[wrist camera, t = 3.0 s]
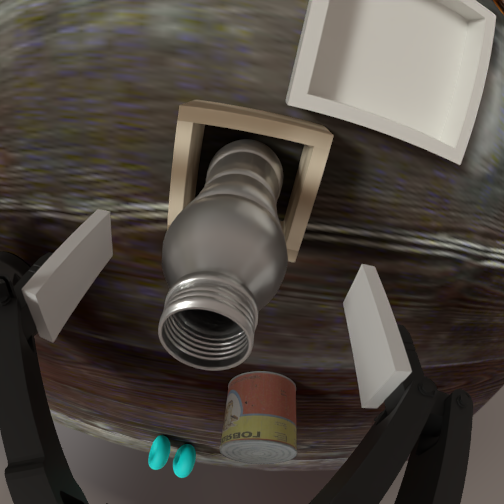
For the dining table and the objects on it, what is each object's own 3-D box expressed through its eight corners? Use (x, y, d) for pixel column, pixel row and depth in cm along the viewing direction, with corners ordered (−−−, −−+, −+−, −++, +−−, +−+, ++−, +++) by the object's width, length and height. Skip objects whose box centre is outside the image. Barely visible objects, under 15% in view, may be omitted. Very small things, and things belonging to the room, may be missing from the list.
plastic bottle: (292, 147, 26) (328, 299, 9) (268, 210, 30) (259, 401, 13) (223, 125, 25) (123, 240, 8) (205, 191, 29) (122, 363, 12)
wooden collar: (292, 234, 31) (294, 262, 27) (181, 212, 30) (166, 236, 26) (323, 125, 25) (333, 135, 20) (196, 99, 24) (179, 105, 20)
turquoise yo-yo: (162, 429, 62) (154, 464, 53) (200, 442, 64) (194, 476, 55) (152, 438, 66) (144, 469, 58) (186, 449, 69) (180, 480, 60)
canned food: (244, 363, 43) (237, 435, 33) (309, 381, 45) (312, 448, 35) (218, 394, 49) (209, 455, 39) (275, 409, 51) (274, 467, 41)
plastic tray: (440, 152, 24) (460, 165, 21) (285, 101, 24) (287, 105, 20) (473, 17, 16) (496, 15, 12) (321, -50, 15) (328, -67, 12)
